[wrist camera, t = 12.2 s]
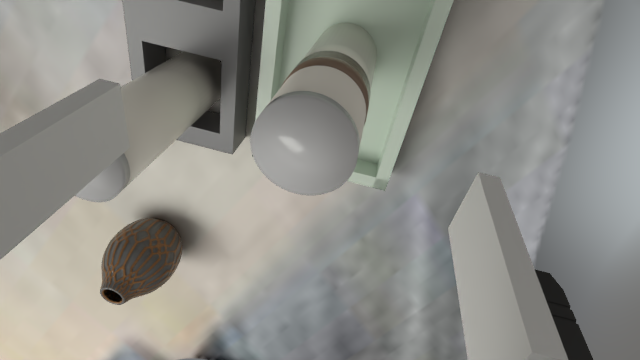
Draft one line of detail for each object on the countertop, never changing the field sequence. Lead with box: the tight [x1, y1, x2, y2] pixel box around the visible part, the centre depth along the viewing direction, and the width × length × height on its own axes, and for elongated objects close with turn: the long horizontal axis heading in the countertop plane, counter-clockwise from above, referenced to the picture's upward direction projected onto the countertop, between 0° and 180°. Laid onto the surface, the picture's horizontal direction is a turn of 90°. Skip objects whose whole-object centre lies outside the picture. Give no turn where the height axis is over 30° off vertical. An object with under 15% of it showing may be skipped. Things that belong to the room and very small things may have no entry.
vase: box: [100, 219, 182, 305], centre depth 38 cm, size 7×7×9 cm
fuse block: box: [122, 0, 255, 154], centre depth 26 cm, size 18×9×3 cm, turn 170°
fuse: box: [74, 51, 222, 202], centre depth 24 cm, size 4×4×14 cm
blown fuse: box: [250, 23, 377, 195], centre depth 21 cm, size 4×4×14 cm
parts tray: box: [252, 0, 454, 191], centre depth 26 cm, size 18×11×3 cm, turn 170°
